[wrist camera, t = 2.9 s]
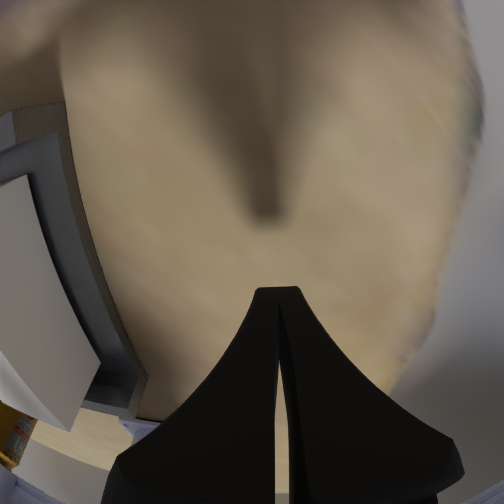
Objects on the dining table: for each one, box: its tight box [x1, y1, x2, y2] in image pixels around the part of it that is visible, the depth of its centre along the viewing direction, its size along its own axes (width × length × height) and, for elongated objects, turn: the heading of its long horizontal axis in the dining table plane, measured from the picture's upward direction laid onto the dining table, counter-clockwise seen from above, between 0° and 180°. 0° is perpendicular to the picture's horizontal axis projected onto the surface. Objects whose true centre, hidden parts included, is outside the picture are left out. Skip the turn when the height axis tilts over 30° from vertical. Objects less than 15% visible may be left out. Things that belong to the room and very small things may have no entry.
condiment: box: [0, 400, 38, 472], centre depth 14 cm, size 7×8×12 cm
